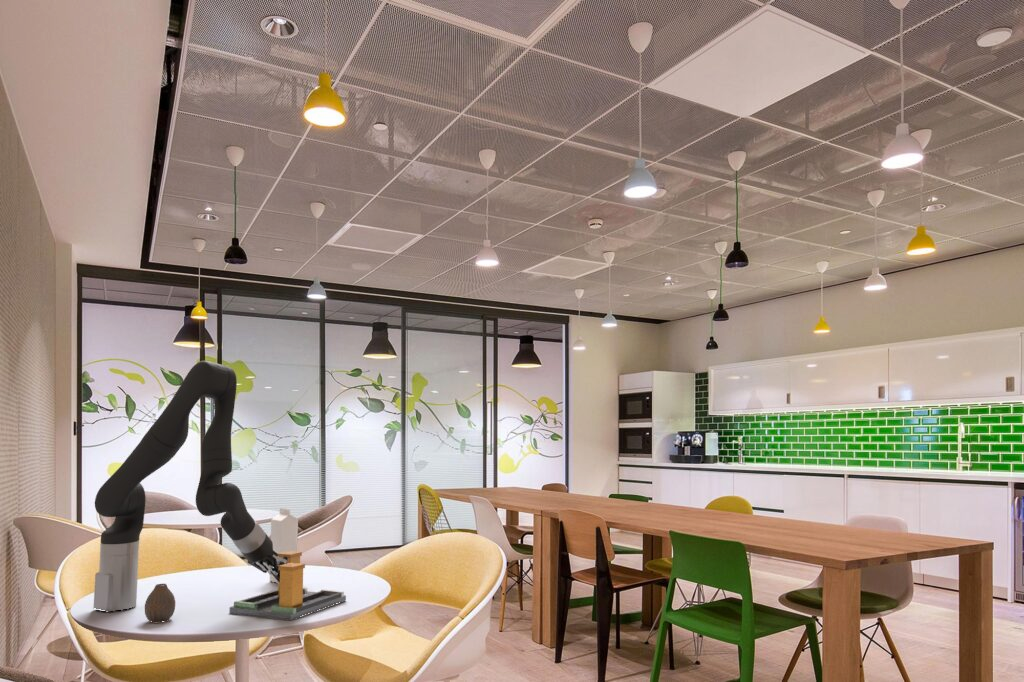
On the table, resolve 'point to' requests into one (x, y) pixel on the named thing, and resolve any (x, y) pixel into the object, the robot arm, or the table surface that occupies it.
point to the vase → (160, 604)
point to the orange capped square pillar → (290, 560)
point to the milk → (284, 533)
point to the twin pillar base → (288, 598)
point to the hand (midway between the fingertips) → (282, 579)
